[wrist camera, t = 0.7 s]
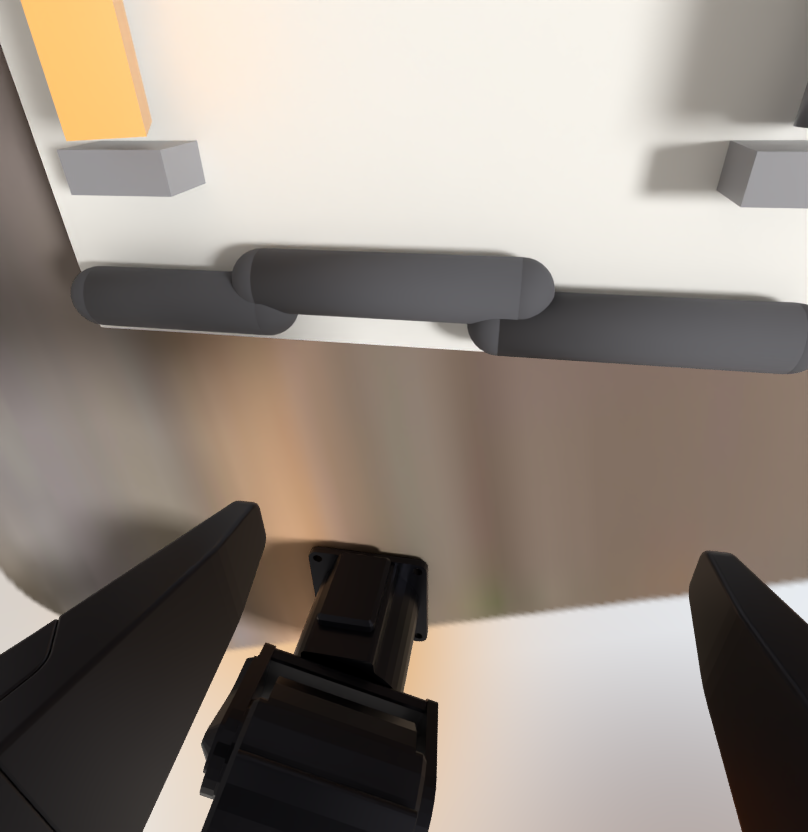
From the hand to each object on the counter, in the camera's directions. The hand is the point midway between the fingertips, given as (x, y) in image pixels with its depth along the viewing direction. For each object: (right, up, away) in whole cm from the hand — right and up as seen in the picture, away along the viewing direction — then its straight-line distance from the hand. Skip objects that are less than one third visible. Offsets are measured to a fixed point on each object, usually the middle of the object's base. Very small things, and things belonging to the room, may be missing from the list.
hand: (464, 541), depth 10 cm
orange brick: (-9, +12, +5) cm, 16 cm away
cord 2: (-1, +6, +8) cm, 10 cm away
